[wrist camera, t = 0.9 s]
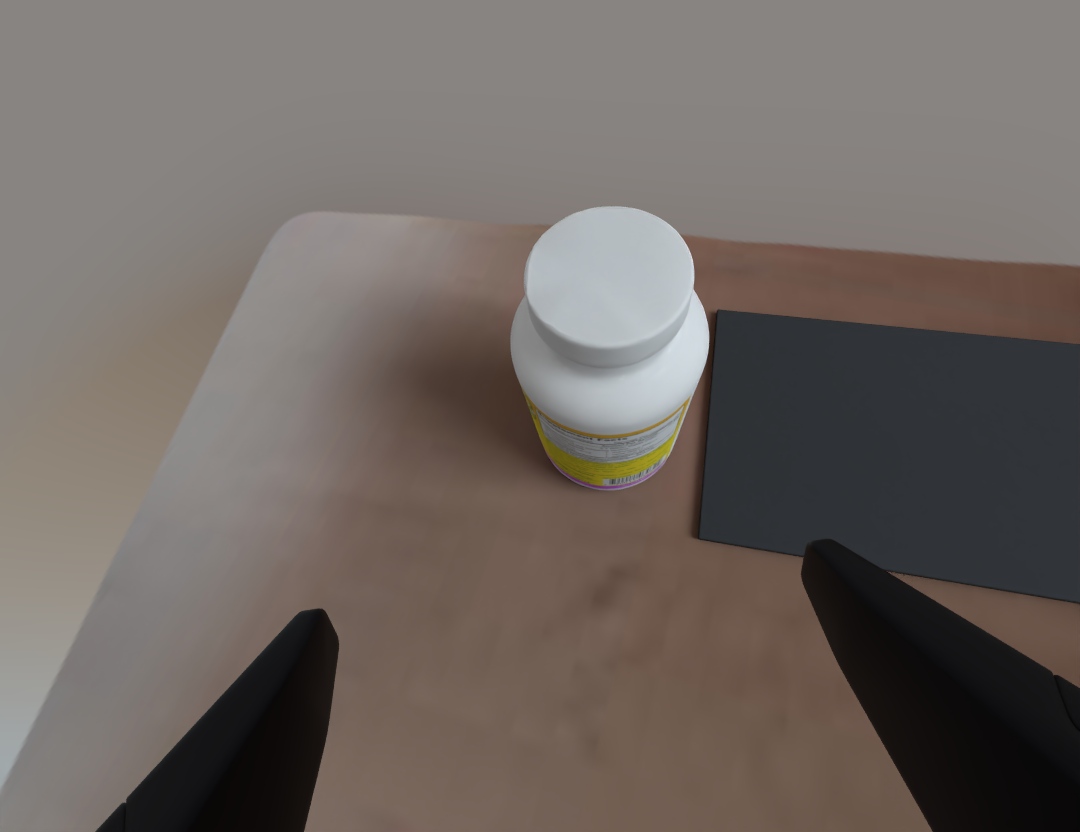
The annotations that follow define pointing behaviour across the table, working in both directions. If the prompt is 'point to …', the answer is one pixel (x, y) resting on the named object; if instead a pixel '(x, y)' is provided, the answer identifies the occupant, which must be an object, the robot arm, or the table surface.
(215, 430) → the table surface
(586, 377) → the supplement bottle
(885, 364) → the desk mat
